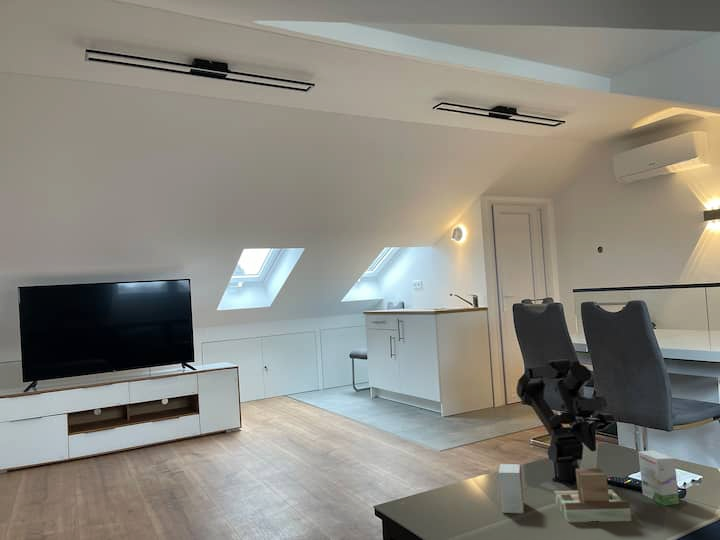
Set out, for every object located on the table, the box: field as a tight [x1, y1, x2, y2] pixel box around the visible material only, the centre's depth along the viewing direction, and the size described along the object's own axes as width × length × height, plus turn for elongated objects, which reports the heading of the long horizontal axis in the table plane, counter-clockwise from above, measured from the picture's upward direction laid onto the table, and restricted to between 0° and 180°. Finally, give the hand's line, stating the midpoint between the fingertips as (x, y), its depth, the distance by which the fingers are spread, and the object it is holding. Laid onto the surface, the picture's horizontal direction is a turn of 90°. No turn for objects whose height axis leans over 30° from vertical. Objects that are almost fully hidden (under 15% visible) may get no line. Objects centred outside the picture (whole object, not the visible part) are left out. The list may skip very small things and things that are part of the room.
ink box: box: [638, 450, 680, 507], centre depth 139 cm, size 8×5×12 cm, turn 6°
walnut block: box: [576, 467, 609, 503], centre depth 132 cm, size 5×6×8 cm
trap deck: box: [553, 489, 632, 523], centre depth 135 cm, size 13×15×4 cm
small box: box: [497, 463, 525, 514], centre depth 141 cm, size 8×6×10 cm
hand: (593, 450), depth 142 cm, fingers closed
